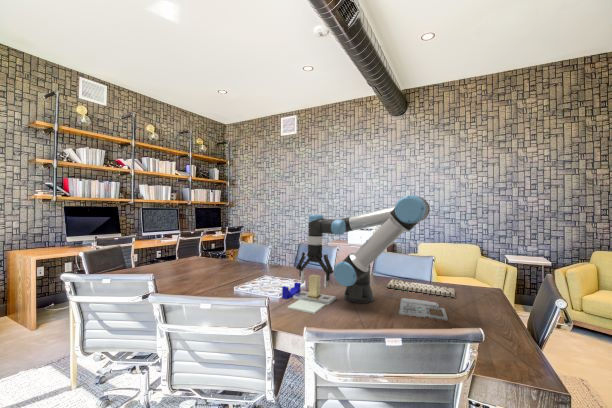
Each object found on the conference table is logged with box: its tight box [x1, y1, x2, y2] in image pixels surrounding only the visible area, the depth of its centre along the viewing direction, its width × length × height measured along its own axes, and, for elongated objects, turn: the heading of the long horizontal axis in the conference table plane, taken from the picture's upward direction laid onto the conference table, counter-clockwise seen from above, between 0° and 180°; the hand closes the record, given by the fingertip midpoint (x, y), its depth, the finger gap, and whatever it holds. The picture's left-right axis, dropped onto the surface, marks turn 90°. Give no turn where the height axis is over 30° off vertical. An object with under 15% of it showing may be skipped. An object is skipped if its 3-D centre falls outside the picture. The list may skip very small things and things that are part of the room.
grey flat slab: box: [398, 297, 448, 321], centre depth 135 cm, size 23×3×20 cm
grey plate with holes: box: [292, 290, 337, 306], centre depth 147 cm, size 20×10×2 cm, turn 63°
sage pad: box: [286, 299, 326, 315], centre depth 135 cm, size 14×12×1 cm
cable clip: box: [281, 281, 302, 300], centre depth 153 cm, size 12×4×6 cm, turn 145°
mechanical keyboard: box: [386, 278, 456, 299], centre depth 167 cm, size 38×19×3 cm, turn 64°
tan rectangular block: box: [308, 274, 321, 298], centre depth 148 cm, size 4×4×12 cm
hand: (314, 284), depth 148 cm, fingers open, 13 cm apart
